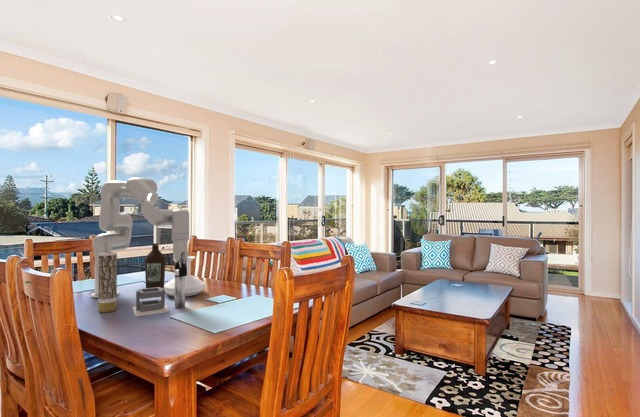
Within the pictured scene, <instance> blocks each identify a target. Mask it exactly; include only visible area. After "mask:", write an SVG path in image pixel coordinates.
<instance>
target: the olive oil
mask: <svg viewBox="0 0 640 417" xmlns="http://www.w3.org/2000/svg"><path fill="white" fill-rule="evenodd" d="M159 246H160V245H159V243H157V242H155V243H154V242H153V243H152V246H151V251H150V252H149V253H148V254H147V255H146V256H145V258H144V270H145V275H144V276H145V288H155V287H160V288H164V285H165V278H166V277H165V276H166V274H165V273H166V261H167V260H166V256H165V254H163V252H161V250H159V248H160V247H159Z"/></svg>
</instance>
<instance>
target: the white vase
mask: <svg viewBox="0 0 640 417" xmlns="http://www.w3.org/2000/svg"><path fill="white" fill-rule="evenodd" d="M195 258H196V256H193V255H191V256H189V255H188V260H187V276H185V298H186V297H192V296H195V295H198V294H200V293H201V292H202V291H203V290H204V289H205V288H206V287H205V285H206V284H205V282H204V281H202V280H201V279H199V278H198V277H196V276H193V275H191V262H192V261H193V260H194V259H195ZM164 289H165V294H167V295H169V296H171V297H175V277H174V278H173V279H171V280H169V281H168V282H166V283H164Z"/></svg>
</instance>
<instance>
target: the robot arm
mask: <svg viewBox="0 0 640 417" xmlns="http://www.w3.org/2000/svg"><path fill="white" fill-rule="evenodd" d="M157 191H158V184H157V182H155V180H154V179H152V178H144V177H131V178H129V179H128V180H127V181H123V180H122V181H121V180H110V181H106V182H105V183H103V185H102V186H101V188H100V203H101V204H100V210H99V217H98V218H99V219H98V227H99V229H100V230H101V231H103V232H107V233H100V234H99V233H98V234H97V235H96V236H94V238H93V239H92V249H93V253H94V254H93V255H94V292H92V293H91V294H90V297H91V298H94V299H98V294H99V254H100V253H114V252H120V251H125V250H127V249H128V248H129V246H130V243H131V240H132V231H133V224H134V223H133V222H134V221H133V218H132V216H131V215H130V214H129V213H127V212H121V211H120V210H121V204H120V200H119V199H129V200H131V199H133V200H134V199H135V200H137V202H138V203H139V204H140V211H141V214H142V216H143V218H144V219H146V220H147V222H149V224H151V225H153V226H156V227H166V226H168V227H169V226H171V241H173V242H172V261H173V262H174V271H175V270H176V269H179V276H180V277H181V276H187V260H188V256H189V252H188V248H189V247H188V241H190V211H189V210H187V209H169V208H168V209H164V208H163V209H158V208H157V207H155V205H156V204H157V203H158V200H159V194H158V193H157ZM118 295H120V290H117V296H118Z"/></svg>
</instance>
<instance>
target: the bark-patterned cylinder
mask: <svg viewBox="0 0 640 417" xmlns="http://www.w3.org/2000/svg"><path fill="white" fill-rule="evenodd" d="M117 253H118V252H112V253H100V254H99V294H98V298H97V299H98V303H97V304H98V306H97V307H98V308H97V309H98V312H99V313H110V312H113V311H116V310H117V297H118V295H117V291H118V289H117V288H118V287H117V286H118V279H117V277H118V271H117V270H118V254H117Z"/></svg>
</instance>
